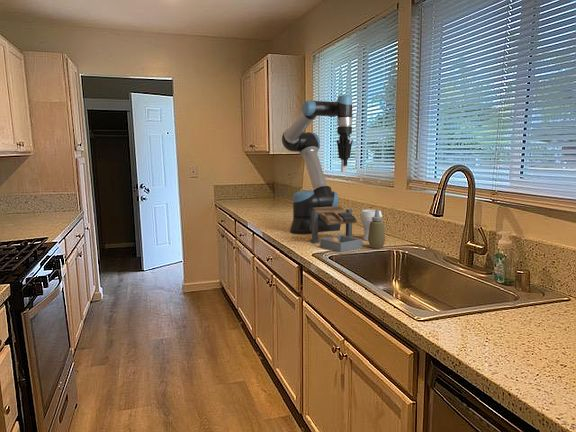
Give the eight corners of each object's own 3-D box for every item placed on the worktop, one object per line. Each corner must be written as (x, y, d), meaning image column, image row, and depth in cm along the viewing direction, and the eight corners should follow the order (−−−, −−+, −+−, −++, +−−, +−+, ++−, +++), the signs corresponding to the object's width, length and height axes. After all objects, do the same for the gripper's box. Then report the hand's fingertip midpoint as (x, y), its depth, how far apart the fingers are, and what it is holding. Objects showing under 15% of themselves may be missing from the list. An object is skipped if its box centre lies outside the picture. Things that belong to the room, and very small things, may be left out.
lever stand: (309, 241, 213) (309, 211, 211) (349, 237, 222) (350, 208, 219) (313, 243, 208) (313, 212, 206) (354, 239, 217) (355, 209, 215)
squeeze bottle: (385, 246, 201) (386, 208, 198) (384, 249, 193) (385, 211, 190) (368, 245, 203) (369, 208, 201) (366, 248, 196) (367, 210, 193)
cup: (381, 241, 210) (382, 212, 208) (360, 241, 212) (360, 211, 210) (381, 237, 220) (382, 209, 218) (360, 237, 223) (361, 209, 220)
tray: (320, 246, 200) (320, 238, 199) (341, 243, 208) (341, 235, 208) (340, 252, 189) (340, 243, 188) (362, 247, 197) (362, 239, 197)
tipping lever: (309, 229, 221) (312, 205, 215) (336, 227, 227) (340, 203, 221) (324, 245, 206) (328, 220, 200) (352, 243, 212) (357, 218, 206)
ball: (336, 249, 196) (331, 245, 193) (331, 245, 199) (327, 241, 196) (341, 242, 196) (337, 238, 193) (336, 238, 199) (332, 235, 196)
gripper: (332, 127, 221) (331, 171, 225) (344, 125, 209) (344, 172, 213) (344, 127, 224) (344, 171, 228) (357, 125, 212) (356, 172, 216)
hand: (344, 172), depth 220 cm, fingers closed
